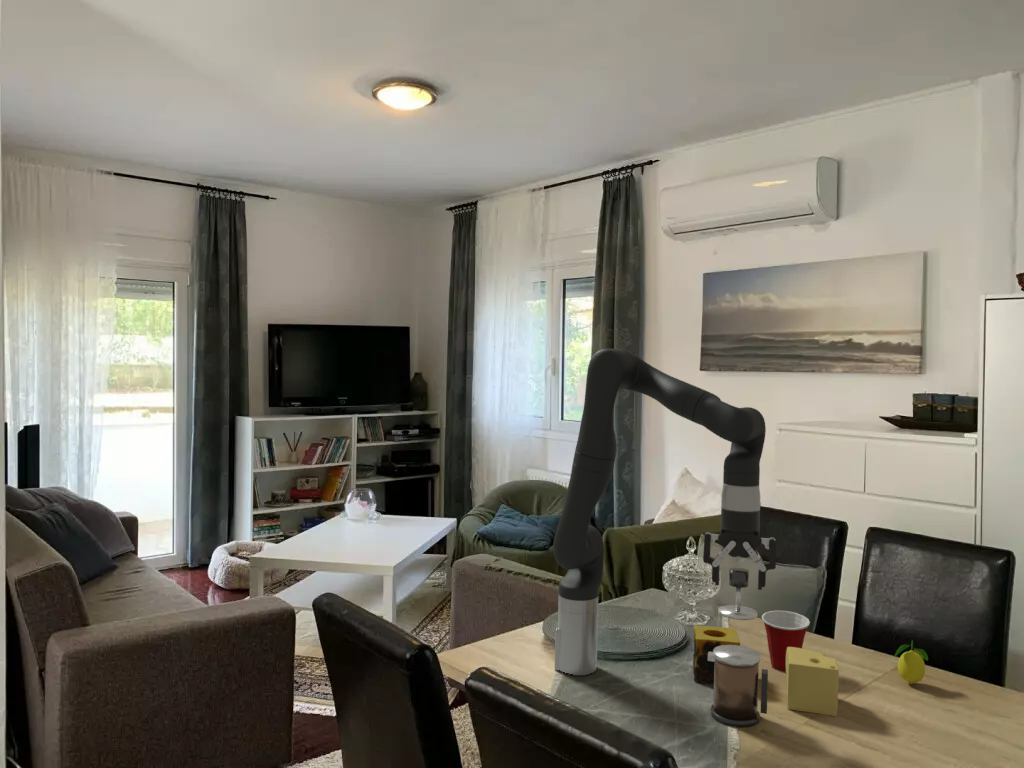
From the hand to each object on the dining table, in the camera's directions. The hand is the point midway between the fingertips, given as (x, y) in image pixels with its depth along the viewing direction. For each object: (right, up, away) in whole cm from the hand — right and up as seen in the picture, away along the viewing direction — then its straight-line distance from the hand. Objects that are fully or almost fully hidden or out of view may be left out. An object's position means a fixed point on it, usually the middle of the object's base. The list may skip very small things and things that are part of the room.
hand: (738, 586), depth 159 cm
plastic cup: (+19, -26, +27) cm, 42 cm away
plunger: (0, -6, 0) cm, 6 cm away
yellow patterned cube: (+1, -26, +21) cm, 34 cm away
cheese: (+17, -27, +7) cm, 33 cm away
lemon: (+44, -27, +19) cm, 55 cm away
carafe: (0, -27, +1) cm, 27 cm away
